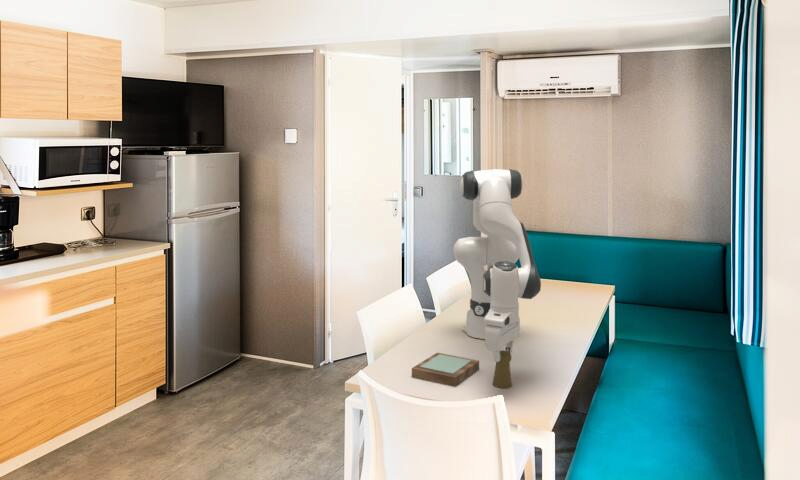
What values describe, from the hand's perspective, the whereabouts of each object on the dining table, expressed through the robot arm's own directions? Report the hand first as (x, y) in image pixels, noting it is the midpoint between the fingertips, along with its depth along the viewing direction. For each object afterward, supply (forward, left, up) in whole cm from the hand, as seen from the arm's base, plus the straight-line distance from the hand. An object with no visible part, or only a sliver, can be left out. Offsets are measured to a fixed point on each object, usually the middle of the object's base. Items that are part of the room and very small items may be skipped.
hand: (503, 356), depth 205 cm
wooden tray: (0, -20, -9) cm, 22 cm away
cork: (0, 0, -10) cm, 10 cm away
